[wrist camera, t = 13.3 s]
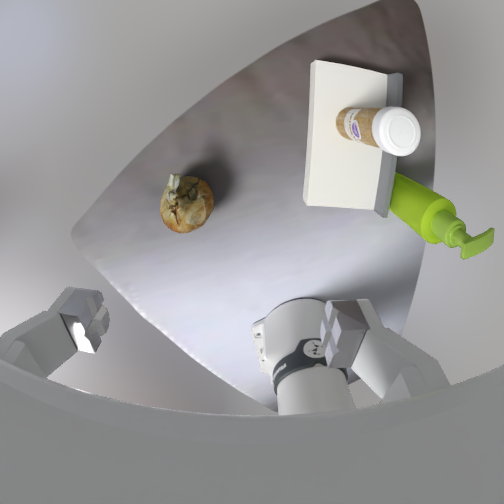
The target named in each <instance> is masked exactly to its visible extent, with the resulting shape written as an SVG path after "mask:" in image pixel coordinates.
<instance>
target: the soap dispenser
mask: <svg viewBox="0 0 504 504" xmlns="http://www.w3.org/2000/svg"><path fill="white" fill-rule="evenodd" d="M389 210H390V211H392V212H393V213H394V214H395V215H397V216H398V217H399V218H400V219H401V220H403V221H404V222H405V223H406V224H407V225H409V226H410V227H411V228H412V229H413V230H414V231H416V232H417V233H418V234H419V235H420V236H421V237H422V238H424V239H425V240H426V241H427V242H429V243H432V244H437V243H440V242H443V243H445V244H446V245H447V246H448V247H450V248H454V247H457V246H459V247H461V258H462V259H463V260H464V259H467V258H470V257H472V256H474V255H477V254H479V253H481V252H483V251H484V250H486V249H487V248H488V247H490V246H491V245H492V243H493V239H494V228H489V229H488V230H487V231H485V232H484V233H482V234H479V235H477V236H475V237H471V236H470V235H468V234H467V233H466V227H465V224H464V222H463V221H462V220H460V219H459V218H457V217H456V210H455V207H454V205H453V203H452V202H451V201H450V200H448V199H446V198H445V197H443V196H441V195H439V194H437V193H436V192H434V191H432V190H430V189H428V188H427V187H425V186H423V185H421V184H419V183H417V182H415V181H413V180H411V179H409V178H407V177H405V176H403V175H401V174H399V173H396V172H395V176H394V182H393V188H392V194H391V200H390V205H389Z"/></svg>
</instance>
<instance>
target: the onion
mask: <svg viewBox="0 0 504 504" xmlns="http://www.w3.org/2000/svg"><path fill="white" fill-rule="evenodd" d="M213 206H214V197H213V193H212V191H211V189H210V187H209V186H208V184H207V183H206V182H205V181H203V180H202V179H200V178H197V177H192V176H184V177H180V175H179V174H171V175H170V178H169V182H168V185H167V187H166V189H165V190H164V192H163V194H162V198H161V204H160V213H161V217H162V219H163V222H164V223H165V225H166V226H167V227H168V228H170V229H171V230H173V231H175V232H178V233H188V232H191V231H193V230H195V229H198V228H199V227H201V226H202V225H203V224H204V223H205V222H206V221H207V219H208V218H209V216H210V214H211V212H212V211H213Z"/></svg>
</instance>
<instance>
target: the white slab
mask: <svg viewBox="0 0 504 504" xmlns="http://www.w3.org/2000/svg"><path fill="white" fill-rule="evenodd" d="M402 91H403V74H401V73H393V74H388V75H386V74H383V73H379V72H375V71H371V70H367V69H363V68H358V67H354V66H349V65H344V64H338V63H332V62H326V61H320V60H315V61H314V62H312V63H311V73H310V102H309V122H308V139H307V154H306V168H305V180H304V192H303V200H304V202H305V203H306V205H309V206H327V207H343V208H357V209H370V210H374V211H376V212H377V213H378V214H379V215H380V216H381V217H385V218H387V215H388V210H389V205H390V200H391V194H392V188H393V182H394V176H395V169H396V162H397V156H396V155H393V154H390V153H387V152H385V151H383V150H382V149H381V148H377V147H374V146H370V145H366V144H362V143H359V142H356V141H354V140H348V139H345V138H344V137H343V136H341V135H340V134H339V132H338V130H337V128H336V117H337V115H338V114H339V112H340V111H341V110H343V109H344V108H348V107H352V108H359V107H379V108H385V107H401V108H402Z"/></svg>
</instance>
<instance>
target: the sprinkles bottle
mask: <svg viewBox="0 0 504 504" xmlns="http://www.w3.org/2000/svg"><path fill="white" fill-rule="evenodd" d="M336 128H337V130H338V132H339V134H340V135H341V136H343V137H344V138H345V139H348V140H354V141H356V142H359V143H362V144H366V145H370V146H374V147H377V148H381V149H382V150H383V151H385V152H387V153H390V154H393V155H396V156H406V155H409V154H411V153H412V152H413V151H414V150H415V149H416V148H417V146H418V144H419V142H420V137H421V131H420V126H419V123H418V121H417V119H416V117H415V116H414V115H413V114H412V113H411V112H410V111H409V110H407V109H405V108H401V107H385V108H379V107H359V108H352V107H348V108H344V109H343V110H341V111H340V112H339V114H338V115H337V117H336Z"/></svg>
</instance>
